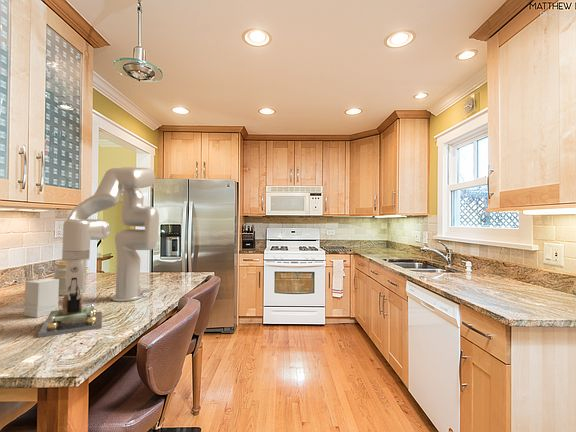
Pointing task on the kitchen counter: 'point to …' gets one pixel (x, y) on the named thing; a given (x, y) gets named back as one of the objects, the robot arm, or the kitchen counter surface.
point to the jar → (63, 278)
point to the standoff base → (71, 324)
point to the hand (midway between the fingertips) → (74, 309)
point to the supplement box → (41, 297)
